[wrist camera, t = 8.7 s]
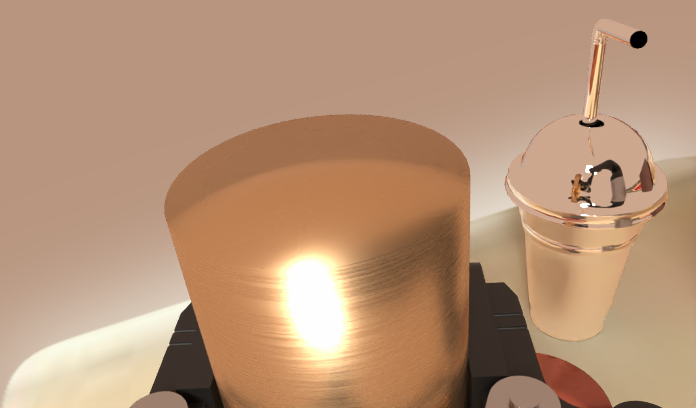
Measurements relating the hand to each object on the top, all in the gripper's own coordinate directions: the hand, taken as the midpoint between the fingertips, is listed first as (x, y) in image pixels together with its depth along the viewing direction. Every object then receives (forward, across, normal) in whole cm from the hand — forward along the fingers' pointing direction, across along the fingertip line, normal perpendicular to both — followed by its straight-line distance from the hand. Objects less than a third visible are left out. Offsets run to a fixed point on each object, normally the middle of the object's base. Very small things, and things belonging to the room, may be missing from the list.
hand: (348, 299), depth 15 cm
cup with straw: (+18, -12, +18) cm, 28 cm away
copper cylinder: (-3, 0, +7) cm, 7 cm away
